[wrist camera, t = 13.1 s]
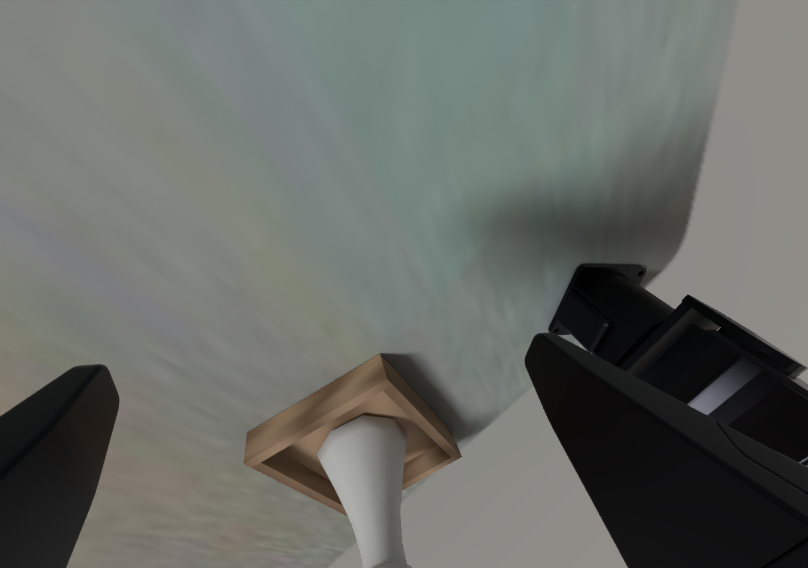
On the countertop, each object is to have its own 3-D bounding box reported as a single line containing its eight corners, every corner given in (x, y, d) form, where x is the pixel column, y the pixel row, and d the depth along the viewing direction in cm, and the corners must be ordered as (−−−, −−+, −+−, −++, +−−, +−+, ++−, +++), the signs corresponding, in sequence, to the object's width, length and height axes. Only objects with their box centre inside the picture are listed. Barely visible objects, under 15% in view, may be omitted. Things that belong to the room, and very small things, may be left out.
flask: (361, 401, 27) (390, 549, 19) (420, 429, 31) (464, 561, 23) (300, 454, 29) (303, 611, 21) (363, 474, 33) (386, 612, 25)
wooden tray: (379, 353, 26) (387, 379, 24) (451, 432, 34) (461, 456, 32) (247, 432, 27) (243, 463, 25) (348, 491, 35) (351, 518, 33)
